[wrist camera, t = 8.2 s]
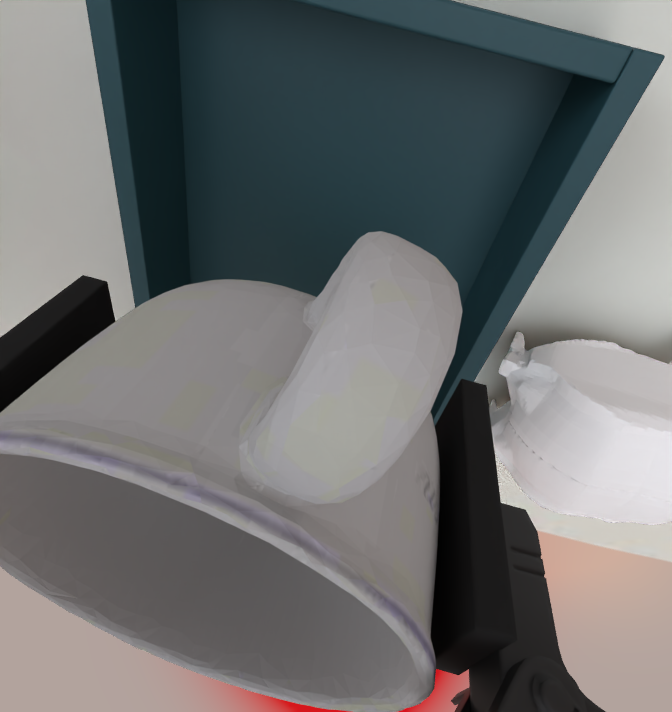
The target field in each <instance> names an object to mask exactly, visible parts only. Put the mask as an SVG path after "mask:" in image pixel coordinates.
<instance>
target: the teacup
mask: <svg viewBox="0 0 672 712" xmlns="http://www.w3.org/2000/svg"><path fill="white" fill-rule="evenodd" d="M462 312H463V311H462V305H461V300H460V294H459V289H458V283H457V282H456V281H455V279H454V278H453V277H452V275H451V274H450V273H449V271H448V270H447V269H446V267H445V266H444V265H443V264H442V263H441V262H440V261H439V260H438V259H437V258H436V257H435V256H433V255H432V254H430V253H428V252H427V251H425V250H423V249H422V248H420V247H418V246H416V245H414V244H412V243H410V242H408V241H406V240H405V239H403V238H401V237H399V236H397V235H393V234H389V233H386V232H382V231H379V232H368V233H367V234H365V235H363V236H362V237H360V238H359V239H358V240H357V241H356V243H355V244H354V245H353V246H352V248H351V249H350V250H349V251H348V253H347V254H346V255H345V256H344V258H343V259H342V261H341V263H340V265H339V267H338V268H337V270H336V271H335V272H334V273H333V274H332V276H331V278H330V279H329V281H328V283H327V285H326V286H325V288H324V290H323V291H322V292H321V293H320V294H319V296H318V297H315V296H313V295H310V294H307V293H304V292H300V291H297V290H294V289H291V288H288V287H284V286H281V285H276V284H272V283H267V282H260V281H250V280H235V279H223V280H210V281H205V282H200V283H194V284H189V285H185V286H182V287H179V288H176V289H173V290H170V291H168V292H165V293H163V294H161V295H159V296H157V297H155V298H152V299H150V300H148V301H146V302H144V303H143V304H141V305H139V306H138V307H136V308H135V309H133V310H132V311H130V312H129V313H127V314H126V315H124V316H123V317H122V318H120V319H119V320H117V321H116V322H114V323H113V324H112V325H110V326H109V327H107V328H106V329H105V330H103V331H102V332H100V333H99V334H98V335H96V336H95V337H94V338H92V339H91V340H89V341H88V342H87V343H85V344H84V345H83V346H81V347H80V348H79V349H78V350H76V351H75V352H74V353H73V354H71V355H70V356H69V357H67V358H66V359H65V360H64V361H62V362H61V363H60V364H59V365H57V366H56V367H55V368H54V369H52V370H51V371H50V372H49V373H48V374H46V375H45V376H44V377H43V378H41V379H40V380H39V381H38V382H36V383H35V384H34V385H33V386H32V387H30V388H29V389H28V390H27V391H26V392H24V393H23V394H22V395H21V396H20V397H18V398H17V399H16V400H15V401H14V402H12V403H11V404H10V405H9V406H8V407H7V408H5V409H4V410H3V411H2V412H1V413H0V566H1V567H2V568H3V569H4V570H5V571H7V572H8V573H9V574H10V575H12V576H13V577H15V578H16V579H18V580H19V581H20V582H22V583H23V584H25V585H26V586H28V587H30V588H31V589H33V590H34V591H36V592H38V593H39V594H41V595H43V596H44V597H46V598H48V599H49V600H51V601H52V602H54V603H56V604H57V605H59V606H60V607H62V608H64V609H65V610H67V611H68V612H70V613H72V614H74V615H76V616H78V617H81V618H82V619H84V620H86V621H87V622H89V623H91V624H92V625H94V626H96V627H98V628H100V629H101V630H104V631H105V632H108V633H110V634H111V635H113V636H115V637H117V638H119V639H121V640H122V641H124V642H126V643H128V644H130V645H132V646H134V647H137V648H138V649H141V650H144V651H146V652H149V653H151V654H153V655H155V656H158V657H160V658H162V659H164V660H166V661H169V662H171V663H174V664H176V665H179V666H181V667H183V668H186V669H189V670H191V671H194V672H196V673H199V674H202V675H205V676H207V677H210V678H213V679H216V680H219V681H222V682H225V683H228V684H230V685H234V686H238V687H241V688H243V689H245V690H248V691H252V692H256V693H260V694H263V695H267V696H271V697H274V698H278V699H282V700H286V701H290V702H294V703H298V704H303V705H309V706H314V707H318V708H324V709H335V710H345V711H353V712H397V711H400V710H403V709H404V708H408V707H412V706H415V705H418V704H420V703H421V702H422V701H423V700H425V699H426V698H427V697H429V696H430V694H431V693H432V691H433V689H434V685H435V673H436V660H435V653H434V649H433V645H432V641H431V624H432V611H433V599H434V586H435V574H436V562H437V547H438V529H439V511H440V460H439V451H438V443H437V436H436V431H435V427H434V422H433V418H432V414H431V408H432V406H433V404H434V401H435V399H436V397H437V394H438V392H439V390H440V387H441V385H442V383H443V380H444V378H445V375H446V373H447V371H448V368H449V366H450V364H451V361H452V359H453V356H454V354H455V349H456V344H457V339H458V333H459V328H460V322H461V317H462Z"/></svg>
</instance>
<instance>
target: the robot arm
mask: <svg viewBox="0 0 672 712" xmlns="http://www.w3.org/2000/svg"><path fill="white" fill-rule="evenodd" d="M114 322H115V318H114V313H113V308H112V303H111V298H110V293H109V289H108V284H107V282H106V281H103V280H99V279H95V278H92V277H88V276H84V275H83V276H81V277H80V278H79V279H77V280H76V281H75V282H73V283H72V284H71V285H69V286H68V287H67V288H65V289H64V290H63V291H61V292H60V293H59V294H57V295H56V296H55V297H53V298H52V299H51V300H49V301H48V302H47V303H45V304H44V305H43V306H41V307H40V308H39V309H38V310H36V311H35V312H34V313H32V314H31V315H30V316H28V317H27V318H26V319H24V320H23V321H22V322H20V323H19V324H18V325H16V326H15V327H14V328H12V329H11V330H10V331H8V332H7V333H6V334H4V335H3V336H2V337H0V413H1V412H2V411H3V410H4V409H5V408H7V407H8V406H9V405H10V404H11V403H12V402H14V401H15V400H16V399H17V398H18V397H20V396H21V395H22V394H23V393H24V392H26V391H27V390H28V389H29V388H30V387H32V386H33V385H34V384H35V383H36V382H38V381H39V380H40V379H41V378H43V377H44V376H45V375H46V374H48V373H49V372H50V371H51V370H52V369H54V368H55V367H56V366H57V365H59V364H60V363H61V362H62V361H64V360H65V359H66V358H67V357H69V356H70V355H71V354H73V353H74V352H75V351H76V350H78V349H79V348H80V347H81V346H83V345H84V344H85V343H87V342H88V341H89V340H91V339H92V338H94V337H95V336H96V335H98V334H99V333H100V332H102V331H103V330H105V329H106V328H107V327H109V326H110V325H112V324H113V323H114ZM435 431H436V436H437V443H438V451H439V460H440V511H439V529H438V547H437V562H436V574H435V586H434V599H433V611H432V624H431V641H432V645H433V649H434V653H435V660H436V669H439V670H442V671H446V672H450V673H453V674H456V675H460V674H461V673H463V672H465V671H466V670H468V669H469V680H470V681H469V682H470V687H469V688H467V689H465V690H463V691H461V692H460V693H458V694H457V695H456V696H455V697H454V698H453V699H452V700H451V701H452V702H453V704H454V705H457V704H458V706H457V708H456V710H455V712H605V711H604V710H602V709H601V708H599V707H598V706H597V705H595V704H594V703H593V702H592V701H591V700H589V699H588V698H587V697H586V696H585V695H584V694H583V693H582V692H581V690H580V689H579V687H578V685H577V683H576V682H575V680H574V679H573V678H572V677H571V676H570V675H569V673H568V672H567V670H566V667H565V665H564V663H563V661H562V658H561V654H560V651H559V646H558V642H557V636H556V631H555V626H554V620H553V614H552V609H551V603H550V598H549V592H548V587H547V582H546V578H544V574H545V571H544V566H543V560H542V559H541V549H540V544H539V539H538V533H537V530H536V529H535V527H534V525H533V523H532V521H531V519H530V517H529V515H528V514H527V512H526V510H524V509H521V508H517V507H513V506H510V505H506V504H503V503H501V502H500V493H499V485H498V477H497V469H496V461H495V453H494V444H493V436H492V428H491V420H490V412H489V404H488V396H487V387H486V385H483V384H479V383H476V382H472V381H468V380H465V379H461V380H460V382H459V384H458V385H457V387H456V389H455V391H454V393H453V394H452V396H451V398H450V400H449V402H448V403H447V405H446V407H445V409H444V411H443V412H442V414H441V416H440V418H439V420H438V421H437V423H436V425H435Z"/></svg>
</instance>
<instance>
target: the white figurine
mask: <svg viewBox="0 0 672 712" xmlns="http://www.w3.org/2000/svg"><path fill="white" fill-rule="evenodd" d="M524 346H525V342H524V335H523V334H522V333H521V332H518V331H517V332H516V335H515V337H514V339H513V341H512V343H511V346H510V348H509V351H508V353H507V355H506V356H505V358H504V360H503V362H502V364H501V366H500V369H499V372H498V373H500V374H501V375H503V376H505V377H507V384H508V390H509V395H510V399H511V400H510V401H508V402H507V403H506V404H504V405H503V406H502V407H501V408H497V407H496V401H495V400H493V399H492V401H491V404H490V407H489V412H490V420H491V428H492V436H493V444H494V452H495V453H496V455H497V457H498V459H499V460H500V461H501V462H502V463H503V465H504V466H505V467H506V468H507V470H508V471H509V472H510V474H511V475H512V477H513V478H514V480H515V482H516V483H517V484H518V485H519V487H520V488H521V489H522V491H523V492H524V493H525V494H526V495H527V496H528V497H529V498H530V499H532V500H533V501H535V502H536V503H537V504H538V505H540V506H541V507H543V508H545V509H550V510H552V511H553V512H556V513H561V514H565V515H572V516H584V517H588V518H600V519H602V520H603V521H605V522H610V523H612V522H615V523H618V522H632V523H640V524H646V525H659V524H665V523H669V522H672V361H671V362H670V363H669V364H667V363H664V362H661V361H658V360H656V359H653V358H651V357H648V356H645V355H639V354H637V353H635V352H634V351H632V350H630V349H625V348H622V347H620V346H619V345H617V344H616V343H614V342H607V341H605V340H604V341H597V340H584V339H580V340H578V339H574V340H566V341H563V340H562V341H560V342H558V341H556V342H553V343H552V344H545V345H542V346H537V347H535V348H532V349H530V350H529V351H527V350H525V348H524Z"/></svg>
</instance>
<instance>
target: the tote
mask: <svg viewBox="0 0 672 712" xmlns="http://www.w3.org/2000/svg"><path fill="white" fill-rule="evenodd" d="M86 5H87V11H88V18H89V24H90V30H91V36H92V42H93V49H94V55H95V61H96V67H97V73H98V80H99V86H100V92H101V98H102V104H103V111H104V117H105V123H106V129H107V135H108V142H109V148H110V154H111V160H112V166H113V173H114V179H115V185H116V191H117V197H118V204H119V210H120V216H121V222H122V228H123V235H124V241H125V247H126V253H127V259H128V265H129V272H130V278H131V284H132V290H133V296H134V303H135V308H136V307H138V306H139V305H141V304H143V303H144V302H146V301H148V300H150V299H152V298H155V297H157V296H159V295H161V294H163V293H165V292H168V291H170V290H173V289H176V288H179V287H182V286H185V285H189V284H194V283H200V282H205V281H210V280H223V279H235V280H250V281H260V282H267V283H272V284H276V285H281V286H284V287H288V288H291V289H294V290H297V291H300V292H304V293H307V294H310V295H313V296H315V297H318V296H319V294H320V293H321V292H322V291H323V290H324V288H325V286H326V285H327V283H328V281H329V279H330V278H331V276H332V274H333V273H334V272H335V271H336V270H337V268H338V267H339V265H340V263H341V261H342V259H343V258H344V256H345V255H346V254H347V253H348V251H349V250H350V249H351V248H352V246H353V245H354V244H355V243H356V241H357V240H358V239H359V238H360V237H362V236H363V235H365V234H367V233H368V232H379V231H382V232H386V233H389V234H393V235H397V236H399V237H401V238H403V239H405V240H406V241H408V242H410V243H412V244H414V245H416V246H418V247H420V248H422V249H423V250H425V251H427V252H428V253H430V254H432V255H433V256H435V257H436V258H437V259H438V260H439V261H440V262H441V263H442V264H443V265H444V266H445V267H446V269H447V270H448V271H449V273H450V274H451V275H452V277H453V278H454V279H455V281H456V282H457V283H458V289H459V294H460V300H461V305H462V311H463V312H462V317H461V322H460V328H459V333H458V339H457V344H456V349H455V354H454V356H453V359H452V361H451V364H450V366H449V368H448V371H447V373H446V375H445V378H444V380H443V383H442V385H441V387H440V390H439V392H438V394H437V397H436V399H435V401H434V404H433V406H432V408H431V414H432V418H433V422H434V427H435V425H436V423H437V421H438V420H439V418H440V416H441V414H442V412H443V411H444V409H445V407H446V405H447V403H448V402H449V400H450V398H451V396H452V394H453V393H454V391H455V389H456V387H457V385H458V384H459V382H460V380H461V379H465V380H468V381H472V382H474V380H475V378H476V377H477V375H478V373H479V372H480V370H481V368H482V366H483V365H484V363H485V361H486V360H487V358H488V356H489V355H490V353H491V351H492V349H493V348H494V346H495V344H496V343H497V341H498V339H499V338H500V336H501V334H502V333H503V331H504V329H505V327H506V326H507V324H508V322H509V321H510V319H511V317H512V316H513V314H514V312H515V310H516V309H517V307H518V305H519V304H520V302H521V300H522V299H523V297H524V295H525V294H526V292H527V290H528V288H529V287H530V285H531V283H532V282H533V280H534V278H535V277H536V275H537V273H538V271H539V270H540V268H541V266H542V265H543V263H544V261H545V260H546V258H547V256H548V254H549V253H550V251H551V249H552V248H553V246H554V244H555V243H556V241H557V239H558V238H559V236H560V234H561V232H562V231H563V229H564V227H565V226H566V224H567V222H568V221H569V219H570V217H571V215H572V214H573V212H574V210H575V209H576V207H577V205H578V204H579V202H580V200H581V198H582V197H583V195H584V193H585V192H586V190H587V188H588V187H589V185H590V183H591V182H592V180H593V178H594V176H595V175H596V173H597V171H598V170H599V168H600V166H601V165H602V163H603V161H604V159H605V158H606V156H607V154H608V153H609V151H610V149H611V148H612V146H613V144H614V142H615V141H616V139H617V137H618V136H619V134H620V132H621V131H622V129H623V127H624V126H625V124H626V122H627V120H628V119H629V117H630V115H631V114H632V112H633V110H634V109H635V107H636V105H637V103H638V102H639V100H640V98H641V97H642V95H643V93H644V92H645V90H646V88H647V86H648V85H649V83H650V81H651V80H652V78H653V76H654V75H655V73H656V71H657V70H658V68H659V66H660V64H661V63H662V61H663V59H664V57H665V56H664V55H661V54H657V53H654V52H650V51H646V50H642V49H638V48H634V47H630V46H626V45H622V44H619V43H615V42H611V41H607V40H603V39H599V38H595V37H591V36H587V35H584V34H580V33H576V32H572V31H568V30H564V29H560V28H556V27H552V26H549V25H545V24H541V23H537V22H533V21H529V20H525V19H521V18H517V17H514V16H510V15H506V14H502V13H498V12H494V11H490V10H486V9H483V8H479V7H475V6H471V5H467V4H463V3H459V2H455V1H451V0H86Z"/></svg>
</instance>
